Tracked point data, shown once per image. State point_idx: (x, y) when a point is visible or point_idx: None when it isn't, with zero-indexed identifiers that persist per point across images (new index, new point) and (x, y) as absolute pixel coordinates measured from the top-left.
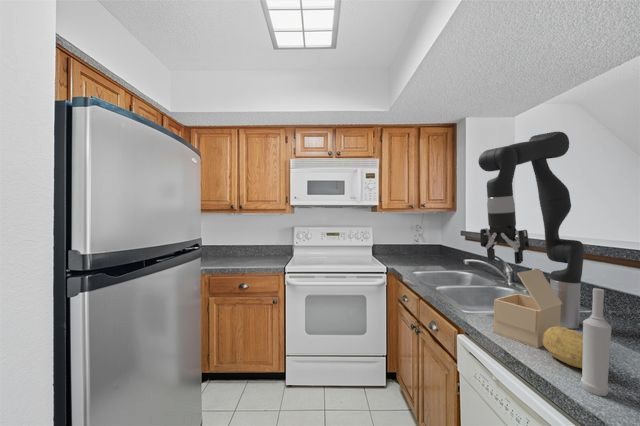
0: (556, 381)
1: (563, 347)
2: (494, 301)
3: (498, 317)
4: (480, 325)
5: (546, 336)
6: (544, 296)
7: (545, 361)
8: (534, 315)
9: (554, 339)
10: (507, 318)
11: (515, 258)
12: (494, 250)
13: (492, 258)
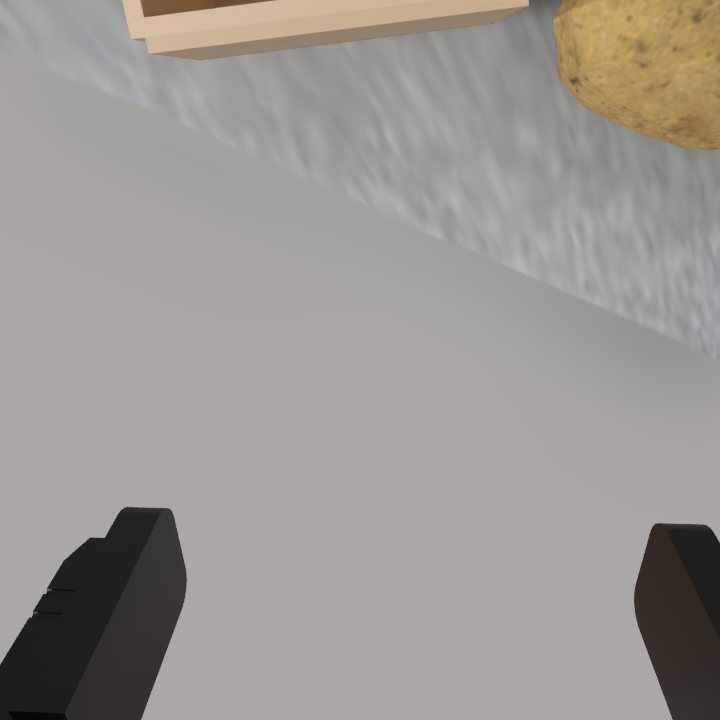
0: (690, 313)
1: (714, 146)
2: (140, 39)
3: (226, 55)
4: (87, 16)
5: (602, 95)
6: None
7: (587, 158)
8: (507, 11)
9: (662, 119)
10: (294, 46)
11: (681, 701)
12: (87, 665)
13: (170, 580)
